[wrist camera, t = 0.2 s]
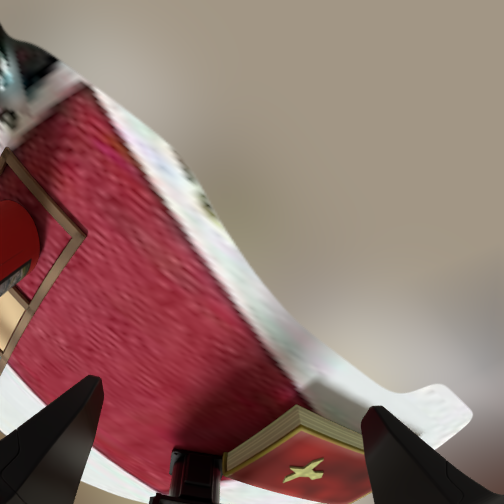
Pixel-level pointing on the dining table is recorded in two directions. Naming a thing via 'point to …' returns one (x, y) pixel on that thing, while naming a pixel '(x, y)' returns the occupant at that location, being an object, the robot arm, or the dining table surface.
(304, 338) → the dining table surface
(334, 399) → the dining table surface
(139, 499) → the dining table surface
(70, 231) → the brown frame
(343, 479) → the hardcover book
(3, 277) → the beverage can
